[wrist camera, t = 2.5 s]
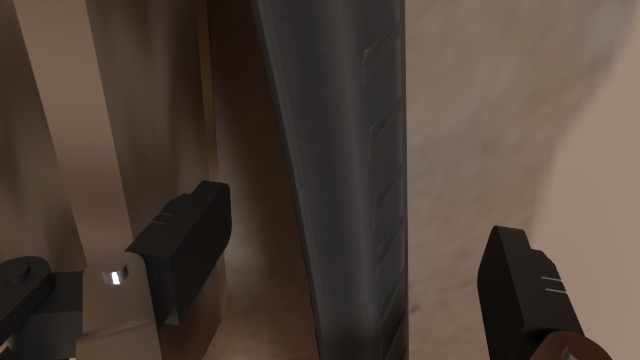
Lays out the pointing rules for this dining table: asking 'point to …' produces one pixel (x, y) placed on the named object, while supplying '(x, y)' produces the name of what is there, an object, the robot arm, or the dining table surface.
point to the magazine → (345, 163)
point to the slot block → (105, 135)
